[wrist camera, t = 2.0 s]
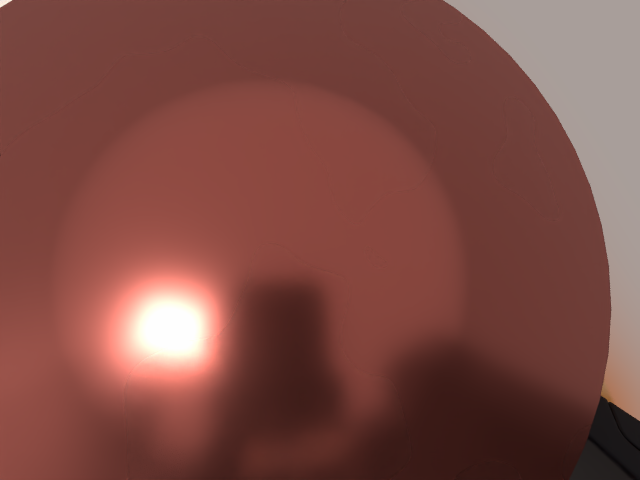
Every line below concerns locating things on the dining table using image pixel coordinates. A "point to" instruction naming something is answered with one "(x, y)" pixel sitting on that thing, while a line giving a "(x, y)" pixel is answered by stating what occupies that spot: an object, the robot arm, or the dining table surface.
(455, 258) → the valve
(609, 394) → the dining table surface
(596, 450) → the robot arm
